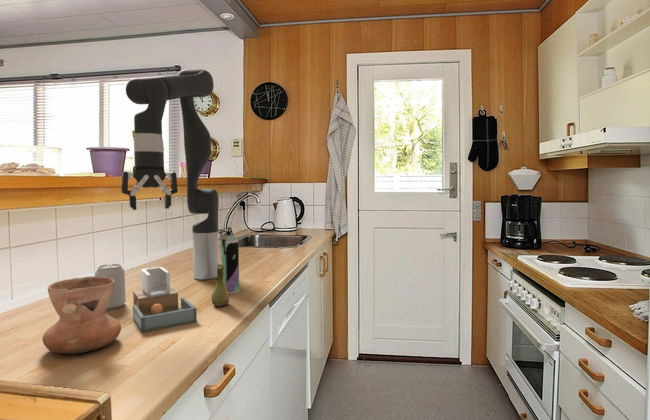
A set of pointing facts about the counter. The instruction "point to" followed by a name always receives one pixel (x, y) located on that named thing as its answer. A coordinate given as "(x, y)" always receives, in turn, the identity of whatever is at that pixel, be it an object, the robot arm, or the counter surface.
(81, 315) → the ceramic jug
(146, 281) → the chute
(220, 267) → the fennel bulb
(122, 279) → the can
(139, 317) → the tray
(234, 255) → the spray can
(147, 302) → the stand
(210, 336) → the counter surface
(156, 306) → the ball
